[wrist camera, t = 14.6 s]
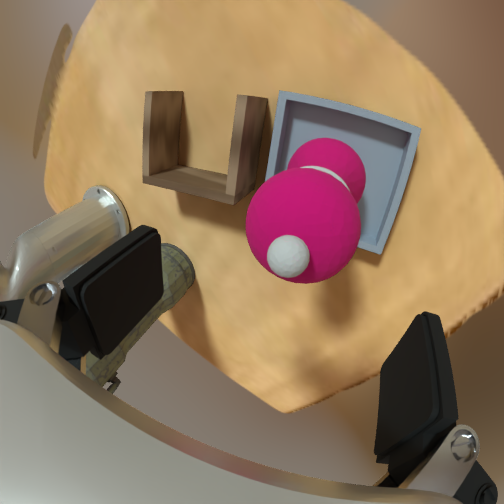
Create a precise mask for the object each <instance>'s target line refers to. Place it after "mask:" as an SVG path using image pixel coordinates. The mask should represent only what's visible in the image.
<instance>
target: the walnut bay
mask: <svg viewBox="0 0 504 504" xmlns="http://www.w3.org/2000/svg"><path fill="white" fill-rule="evenodd" d="M182 98H183V91H148V92H145V106H144V123H143V183H145V184H149V185H154V186H158V187H162V188H167V189H171V190H175V191H179V192H183V193H187V194H191V195H195V196H200V197H203V198H207V199H211V200H215V201H219V202H223V203H227V204H231V205H235V204H236V203H237V202H238V201H240V200H241V199H242V198H243V197H245V196H246V195H247V194H249V193H250V192H251V191H252V190H254V186H255V179H256V173H257V166H258V159H259V152H260V146H261V139H262V132H263V126H264V119H265V112H266V106H267V99H268V98H262V97H255V96H247V95H237V100H236V108H235V116H234V124H233V132H232V140H231V148H230V157H229V166H228V175H225V174H221V173H216V172H211V171H207V170H202V169H197V168H192V167H186V166H181V165H178V150H179V134H180V120H181V109H182Z"/></svg>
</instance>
